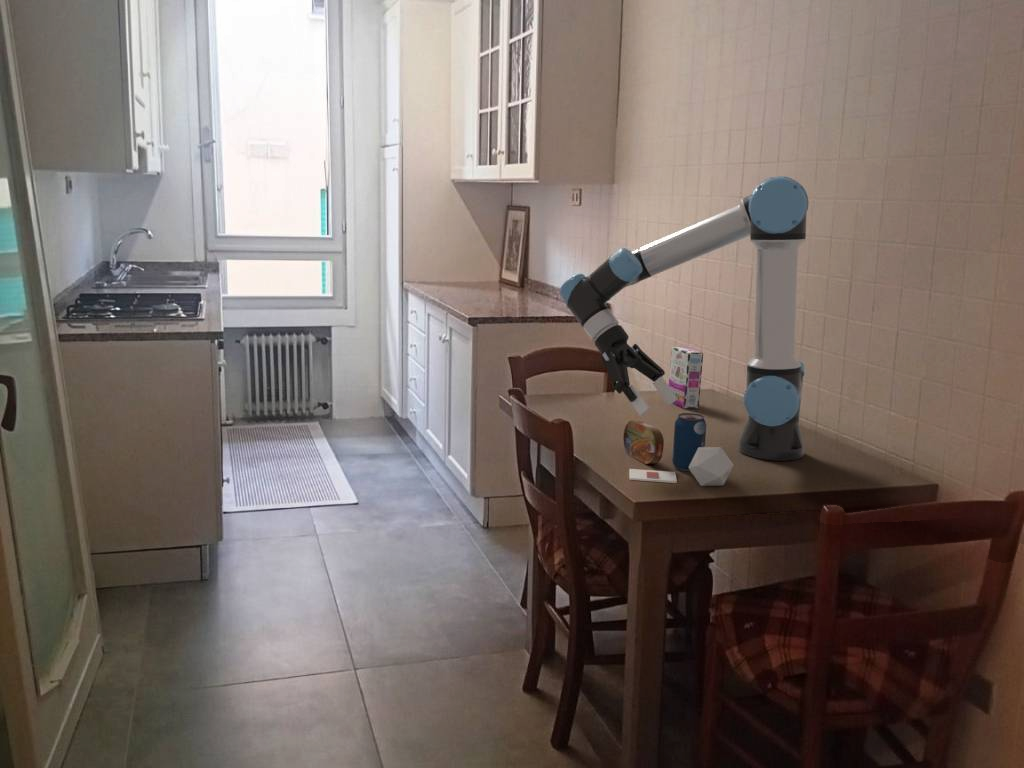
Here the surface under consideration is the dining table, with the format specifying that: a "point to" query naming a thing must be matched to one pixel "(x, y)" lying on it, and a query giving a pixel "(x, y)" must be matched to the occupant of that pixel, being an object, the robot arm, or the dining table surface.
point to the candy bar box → (686, 376)
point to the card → (652, 475)
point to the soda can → (687, 439)
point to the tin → (643, 442)
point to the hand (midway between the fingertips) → (659, 407)
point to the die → (710, 466)
